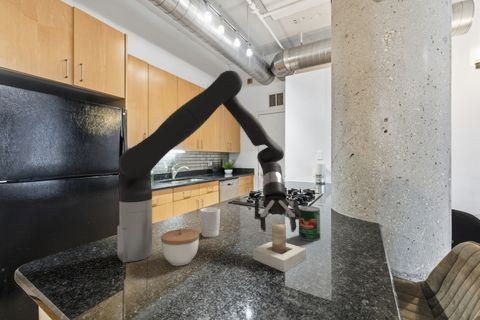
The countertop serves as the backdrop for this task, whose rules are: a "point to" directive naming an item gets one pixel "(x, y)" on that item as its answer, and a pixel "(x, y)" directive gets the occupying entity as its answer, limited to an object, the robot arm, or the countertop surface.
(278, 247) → the birch peg
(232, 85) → the robot arm
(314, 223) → the canned tomato
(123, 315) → the countertop surface
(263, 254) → the beige socket block
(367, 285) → the countertop surface
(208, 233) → the white cup
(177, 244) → the lidded jar
